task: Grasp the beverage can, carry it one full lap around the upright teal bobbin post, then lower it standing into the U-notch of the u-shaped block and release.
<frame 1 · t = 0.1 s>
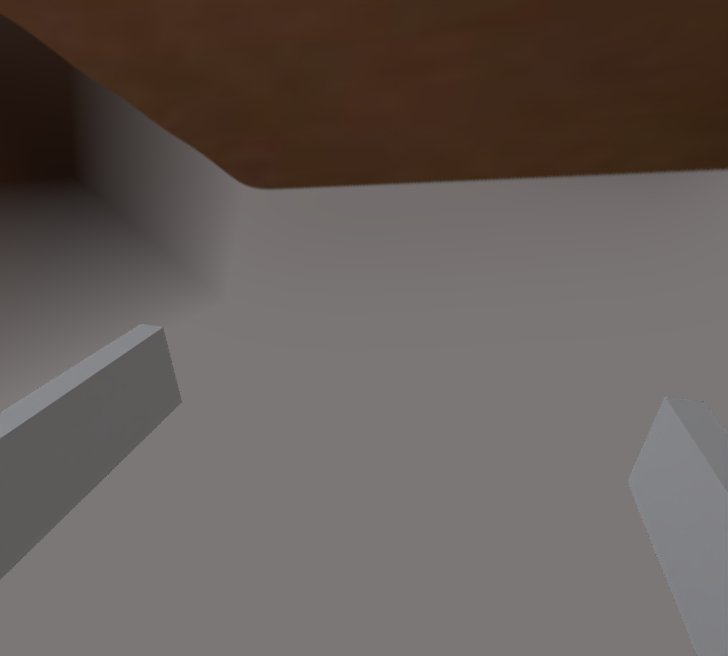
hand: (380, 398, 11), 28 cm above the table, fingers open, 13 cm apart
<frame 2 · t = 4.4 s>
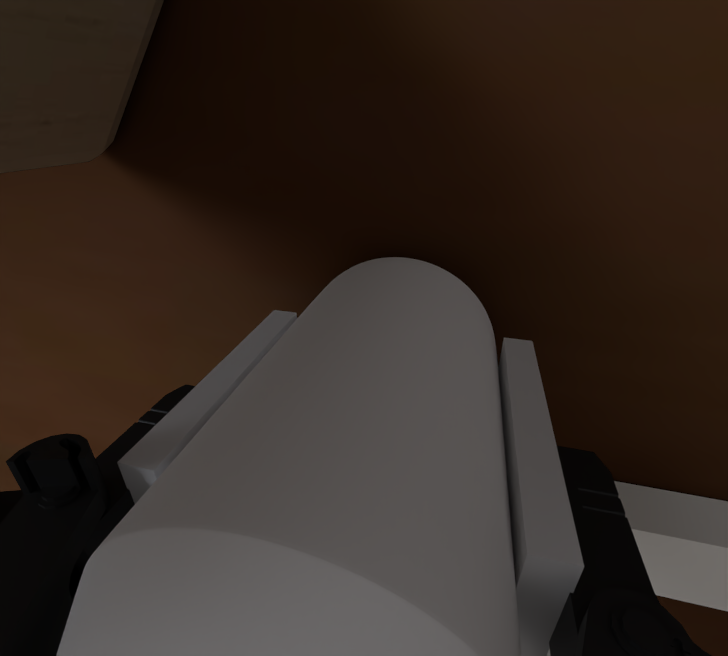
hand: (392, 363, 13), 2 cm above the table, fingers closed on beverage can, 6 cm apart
beverage can: (403, 331, 14), on the table, touching gripper
u-shaped block: (542, 585, 18), on the table
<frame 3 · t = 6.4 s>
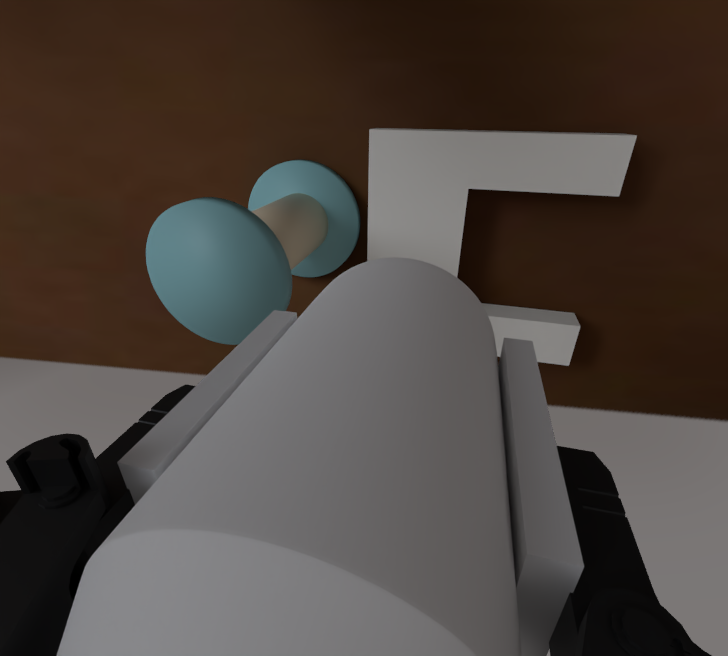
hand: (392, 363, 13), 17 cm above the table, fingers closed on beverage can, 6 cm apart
beverage can: (403, 331, 14), point 15 cm above the table, touching gripper
u-shaped block: (476, 247, 27), on the table
bobbin: (306, 219, 29), on the table
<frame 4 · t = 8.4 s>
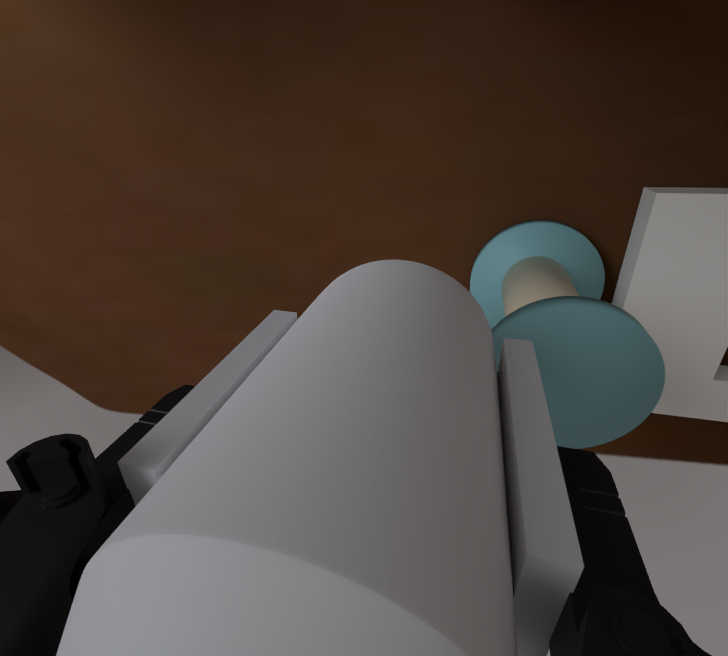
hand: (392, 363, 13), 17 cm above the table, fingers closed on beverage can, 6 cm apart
beverage can: (402, 333, 15), point 15 cm above the table, touching gripper
bobbin: (532, 280, 27), on the table
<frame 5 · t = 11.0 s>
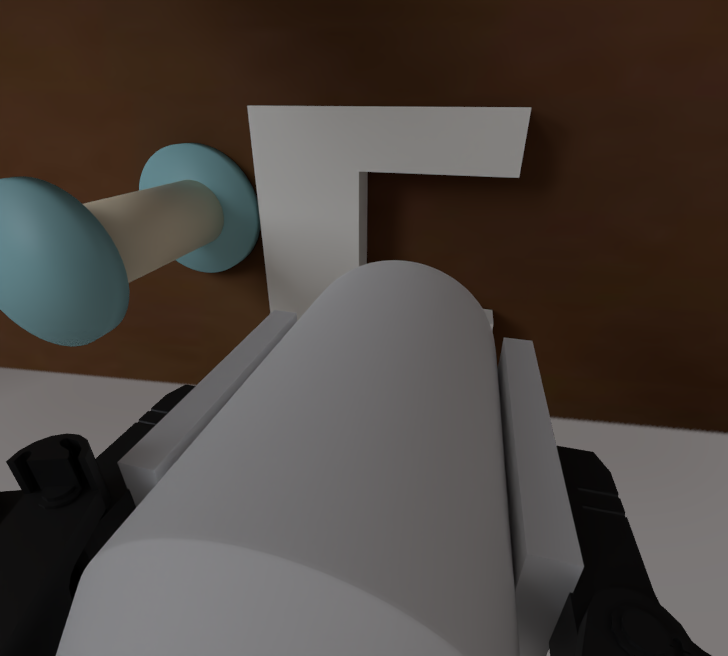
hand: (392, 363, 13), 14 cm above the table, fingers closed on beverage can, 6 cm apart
beverage can: (402, 334, 14), point 11 cm above the table, touching gripper
u-shaped block: (383, 237, 25), on the table
bobbin: (204, 209, 27), on the table
when the fingers open (4 cm above the table, at t = 12.9 s): beverage can drops 2 cm, on the table.
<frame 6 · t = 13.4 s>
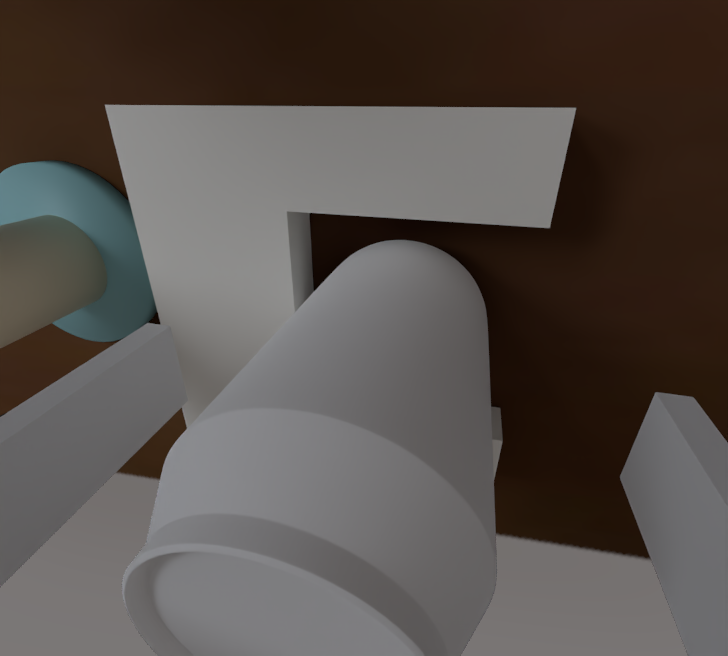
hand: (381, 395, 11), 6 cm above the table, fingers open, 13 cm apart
beverage can: (405, 308, 16), on the table
u-shaped block: (337, 302, 17), on the table
bobbin: (85, 254, 19), on the table
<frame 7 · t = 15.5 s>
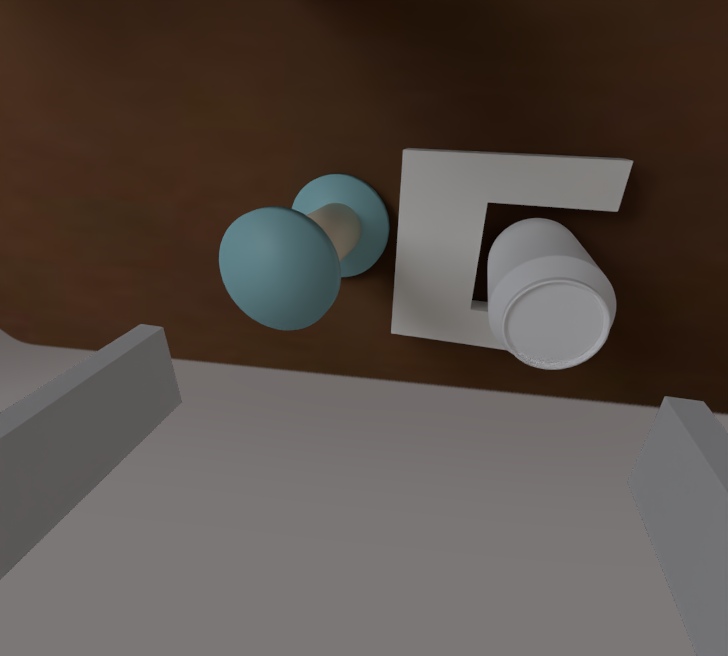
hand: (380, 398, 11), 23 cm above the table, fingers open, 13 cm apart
beverage can: (530, 256, 31), on the table
u-shaped block: (492, 253, 31), on the table
bobbin: (341, 225, 33), on the table
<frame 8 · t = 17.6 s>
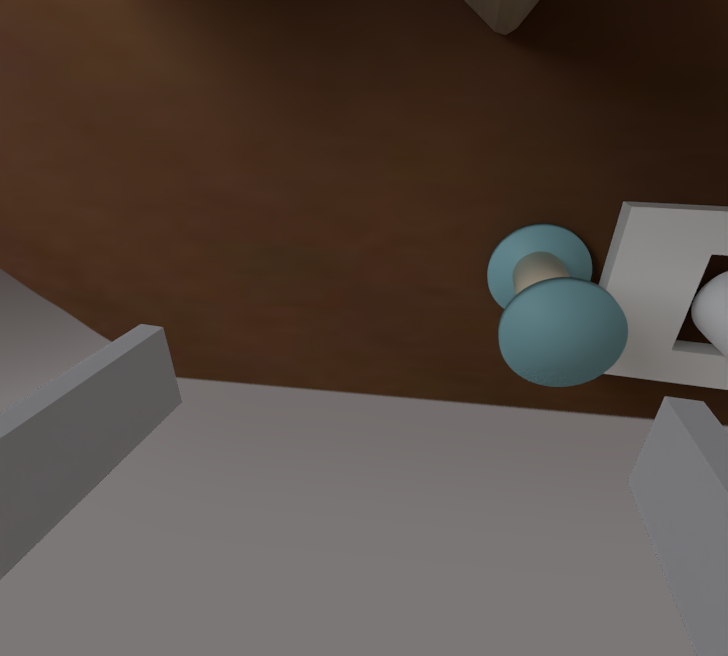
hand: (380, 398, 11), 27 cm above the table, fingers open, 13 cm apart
u-shaped block: (693, 296, 33), on the table
bobbin: (536, 270, 35), on the table
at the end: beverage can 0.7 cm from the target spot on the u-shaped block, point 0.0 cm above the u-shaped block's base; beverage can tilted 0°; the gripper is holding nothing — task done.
